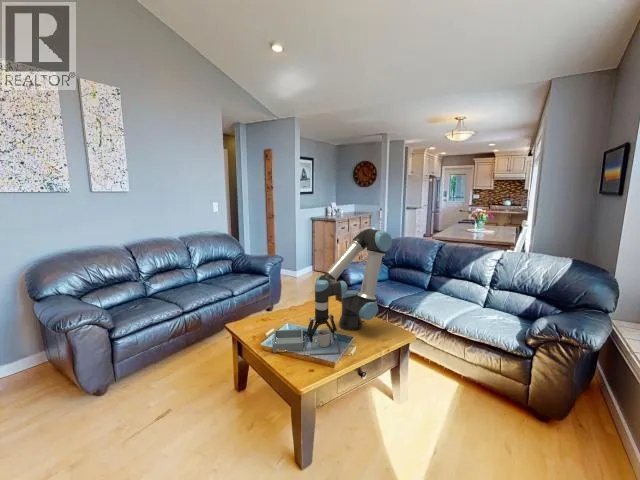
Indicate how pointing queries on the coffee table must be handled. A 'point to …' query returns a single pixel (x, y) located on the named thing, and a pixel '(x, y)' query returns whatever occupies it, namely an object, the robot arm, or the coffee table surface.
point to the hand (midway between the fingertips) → (321, 344)
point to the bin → (288, 340)
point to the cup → (323, 337)
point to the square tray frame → (321, 353)
